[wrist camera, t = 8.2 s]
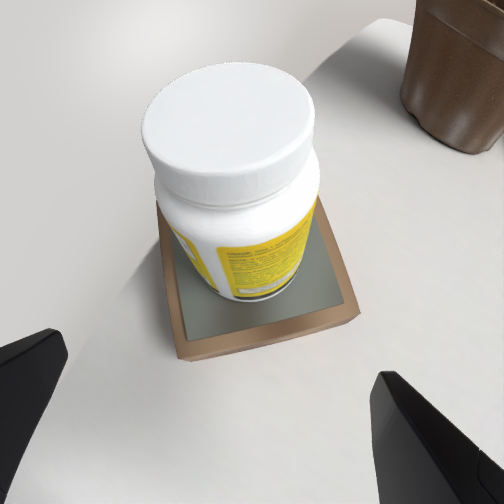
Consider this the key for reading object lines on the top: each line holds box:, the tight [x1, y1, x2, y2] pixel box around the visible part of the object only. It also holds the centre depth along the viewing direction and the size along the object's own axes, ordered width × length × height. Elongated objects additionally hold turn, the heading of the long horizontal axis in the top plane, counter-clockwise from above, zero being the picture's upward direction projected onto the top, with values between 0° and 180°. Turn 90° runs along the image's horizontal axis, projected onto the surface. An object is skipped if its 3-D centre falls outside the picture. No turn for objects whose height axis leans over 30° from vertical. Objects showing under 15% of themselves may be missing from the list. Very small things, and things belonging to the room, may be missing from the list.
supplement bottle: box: [141, 62, 320, 302], centre depth 12 cm, size 6×6×10 cm
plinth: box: [156, 196, 361, 362], centre depth 19 cm, size 10×10×3 cm
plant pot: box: [401, 0, 504, 154], centre depth 18 cm, size 16×16×16 cm
